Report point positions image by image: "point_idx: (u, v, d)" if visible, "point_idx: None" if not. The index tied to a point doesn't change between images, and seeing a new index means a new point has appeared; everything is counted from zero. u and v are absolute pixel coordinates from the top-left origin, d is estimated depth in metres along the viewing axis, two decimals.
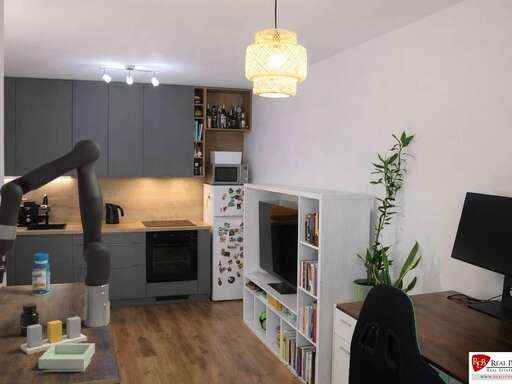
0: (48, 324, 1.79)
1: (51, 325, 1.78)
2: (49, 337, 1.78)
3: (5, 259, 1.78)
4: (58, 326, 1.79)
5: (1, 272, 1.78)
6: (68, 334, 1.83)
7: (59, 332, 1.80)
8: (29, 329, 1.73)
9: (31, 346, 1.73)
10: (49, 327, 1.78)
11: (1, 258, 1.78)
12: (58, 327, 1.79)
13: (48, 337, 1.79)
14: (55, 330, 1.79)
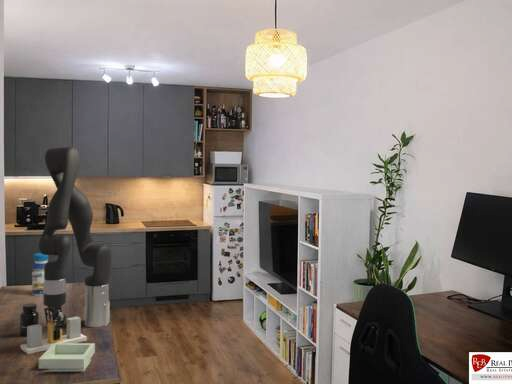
0: (48, 324, 1.79)
1: (51, 325, 1.77)
2: (49, 337, 1.78)
3: (63, 319, 1.76)
4: None
5: (59, 329, 1.77)
6: (68, 334, 1.83)
7: None
8: (29, 329, 1.73)
9: (31, 346, 1.73)
10: (49, 327, 1.78)
11: (60, 319, 1.75)
12: None
13: (48, 337, 1.79)
14: None
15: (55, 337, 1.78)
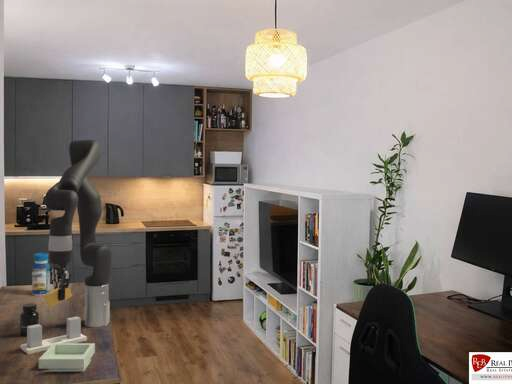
0: None
1: None
2: (53, 291, 1.69)
3: (68, 277, 1.67)
4: (68, 293, 1.71)
5: (63, 288, 1.68)
6: (68, 334, 1.83)
7: None
8: (29, 329, 1.73)
9: (31, 346, 1.73)
10: None
11: (65, 277, 1.66)
12: (66, 294, 1.71)
13: (51, 291, 1.70)
14: None
15: (60, 297, 1.69)
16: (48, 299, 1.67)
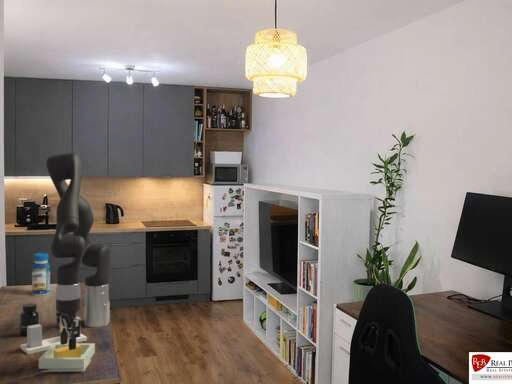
0: (76, 344, 1.69)
1: (79, 347, 1.68)
2: (64, 348, 1.65)
3: (78, 324, 1.61)
4: (77, 354, 1.67)
5: (75, 337, 1.62)
6: None
7: None
8: (29, 329, 1.73)
9: (31, 346, 1.73)
10: None
11: (74, 324, 1.60)
12: (75, 355, 1.67)
13: (62, 348, 1.66)
14: (73, 352, 1.66)
15: (71, 346, 1.63)
16: (58, 355, 1.63)
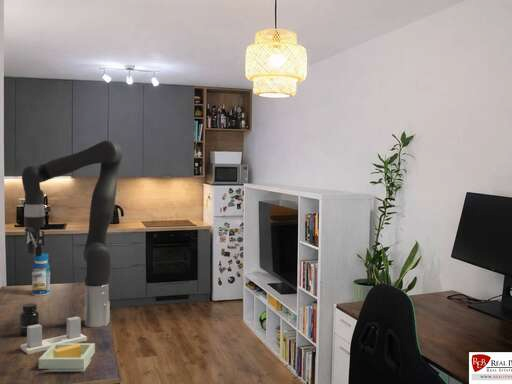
0: (76, 344, 1.69)
1: (79, 347, 1.68)
2: (64, 348, 1.65)
3: (42, 234, 2.00)
4: (77, 354, 1.67)
5: (40, 246, 2.00)
6: (68, 334, 1.83)
7: None
8: (29, 329, 1.73)
9: (31, 346, 1.73)
10: (75, 346, 1.68)
11: (39, 233, 1.99)
12: (75, 355, 1.67)
13: (62, 348, 1.66)
14: (73, 352, 1.66)
15: (37, 253, 2.01)
16: (58, 355, 1.63)
